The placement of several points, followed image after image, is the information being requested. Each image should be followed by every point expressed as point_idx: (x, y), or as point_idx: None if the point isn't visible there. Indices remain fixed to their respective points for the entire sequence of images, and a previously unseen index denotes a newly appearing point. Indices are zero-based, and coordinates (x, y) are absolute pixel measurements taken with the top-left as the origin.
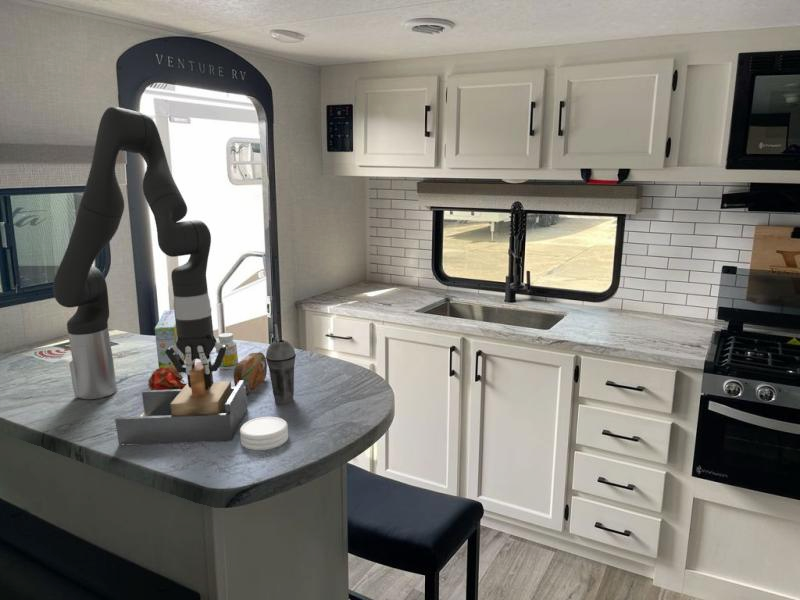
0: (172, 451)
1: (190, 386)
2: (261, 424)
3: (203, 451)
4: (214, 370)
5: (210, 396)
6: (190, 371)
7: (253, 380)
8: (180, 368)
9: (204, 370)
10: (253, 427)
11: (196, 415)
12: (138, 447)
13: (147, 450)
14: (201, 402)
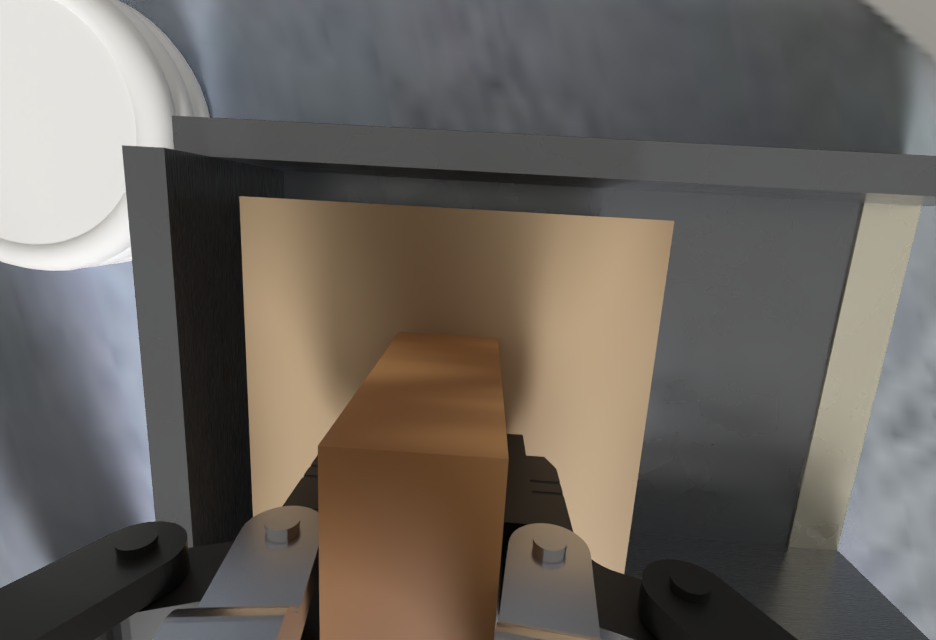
0: (576, 54)
1: (534, 462)
2: (39, 152)
3: (398, 28)
4: (163, 529)
5: (340, 339)
6: (494, 471)
7: None
8: (692, 607)
9: (309, 543)
10: (76, 109)
11: (434, 143)
12: (784, 137)
13: (724, 88)
14: (387, 209)
